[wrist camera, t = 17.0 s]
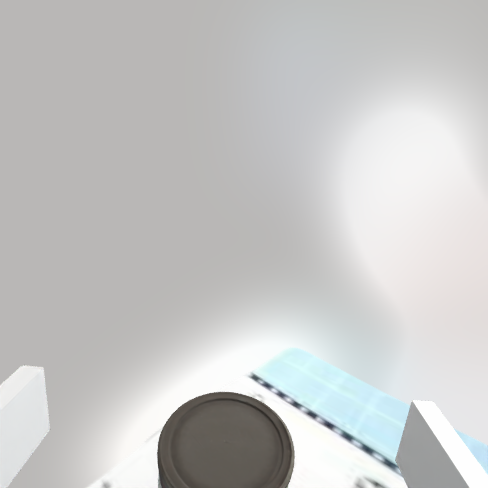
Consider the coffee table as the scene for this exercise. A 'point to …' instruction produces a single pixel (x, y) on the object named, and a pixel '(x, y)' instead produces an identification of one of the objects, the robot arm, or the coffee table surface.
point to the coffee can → (225, 445)
